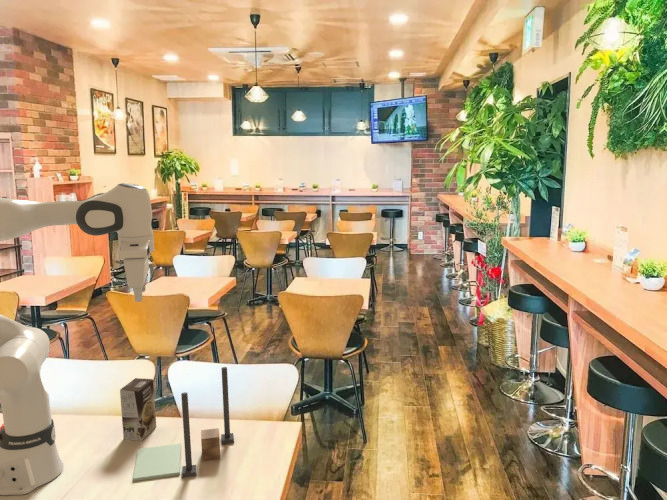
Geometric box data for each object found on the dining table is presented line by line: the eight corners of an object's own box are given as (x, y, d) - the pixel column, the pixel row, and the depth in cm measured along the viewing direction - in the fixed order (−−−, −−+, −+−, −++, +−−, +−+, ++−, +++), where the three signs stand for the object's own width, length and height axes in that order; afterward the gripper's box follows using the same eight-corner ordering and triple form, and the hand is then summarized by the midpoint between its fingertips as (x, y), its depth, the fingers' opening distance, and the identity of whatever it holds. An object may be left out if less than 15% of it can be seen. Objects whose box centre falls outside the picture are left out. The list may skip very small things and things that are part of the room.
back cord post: (221, 444, 167) (218, 371, 162) (221, 438, 170) (217, 366, 166) (234, 442, 167) (230, 369, 163) (233, 436, 171) (230, 365, 166)
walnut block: (202, 461, 158) (201, 439, 156) (202, 452, 162) (201, 430, 161) (220, 459, 159) (219, 436, 157) (219, 450, 164) (218, 428, 162)
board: (133, 481, 149) (132, 478, 149) (138, 451, 163) (138, 448, 163) (179, 474, 152) (179, 472, 151) (181, 445, 166) (181, 443, 166)
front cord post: (182, 477, 150) (177, 397, 146) (182, 470, 154) (177, 391, 149) (196, 476, 151) (191, 395, 146) (196, 468, 154) (191, 390, 150)
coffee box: (142, 441, 169) (138, 391, 165) (122, 439, 170) (118, 389, 167) (157, 426, 177) (154, 378, 174) (138, 424, 179) (135, 377, 175)
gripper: (128, 239, 156) (132, 287, 159) (119, 253, 137) (123, 307, 140) (151, 238, 158) (155, 285, 161) (146, 252, 138) (150, 305, 141)
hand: (140, 296), depth 150 cm, fingers open, 8 cm apart
